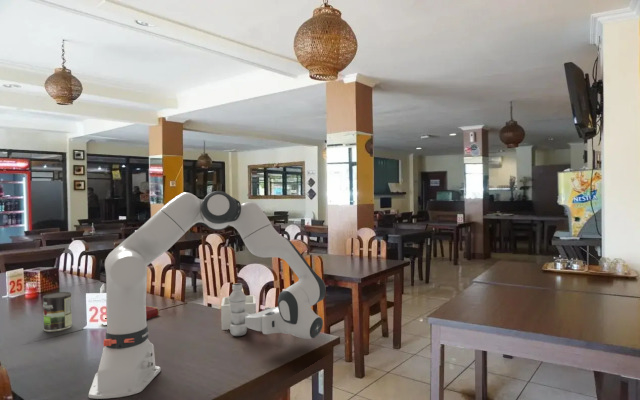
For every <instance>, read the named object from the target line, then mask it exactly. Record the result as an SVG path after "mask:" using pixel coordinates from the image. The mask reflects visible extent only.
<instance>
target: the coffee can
mask: <svg viewBox="0 0 640 400" xmlns="http://www.w3.org/2000/svg"><path fill="white" fill-rule="evenodd" d="M42 305H43V307H42V309H43V310H42V311H43V312H42V313H43V331H44V332H46V333H47V332H50V333H51V332H52V333H53V332H60V331H64V330H65V331H66V330H67V329H70V328H72V327H73V323H72V292H70V291H67V292H66V291H62V292H53V293H52V292H51V293H48V294H44V295H43V296H42Z"/></svg>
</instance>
